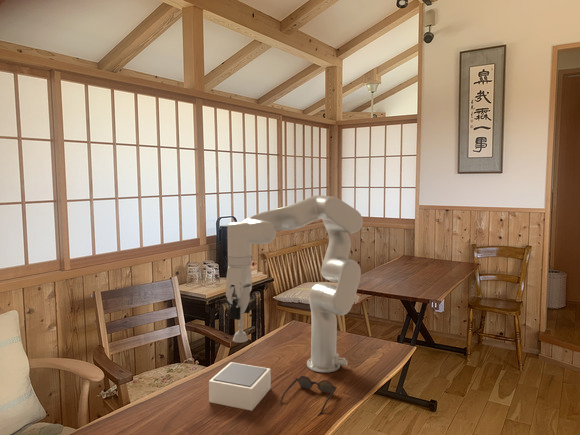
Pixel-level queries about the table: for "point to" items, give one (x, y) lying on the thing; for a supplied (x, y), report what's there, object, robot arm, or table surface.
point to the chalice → (243, 304)
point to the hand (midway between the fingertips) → (240, 315)
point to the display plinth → (240, 386)
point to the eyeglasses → (307, 383)
